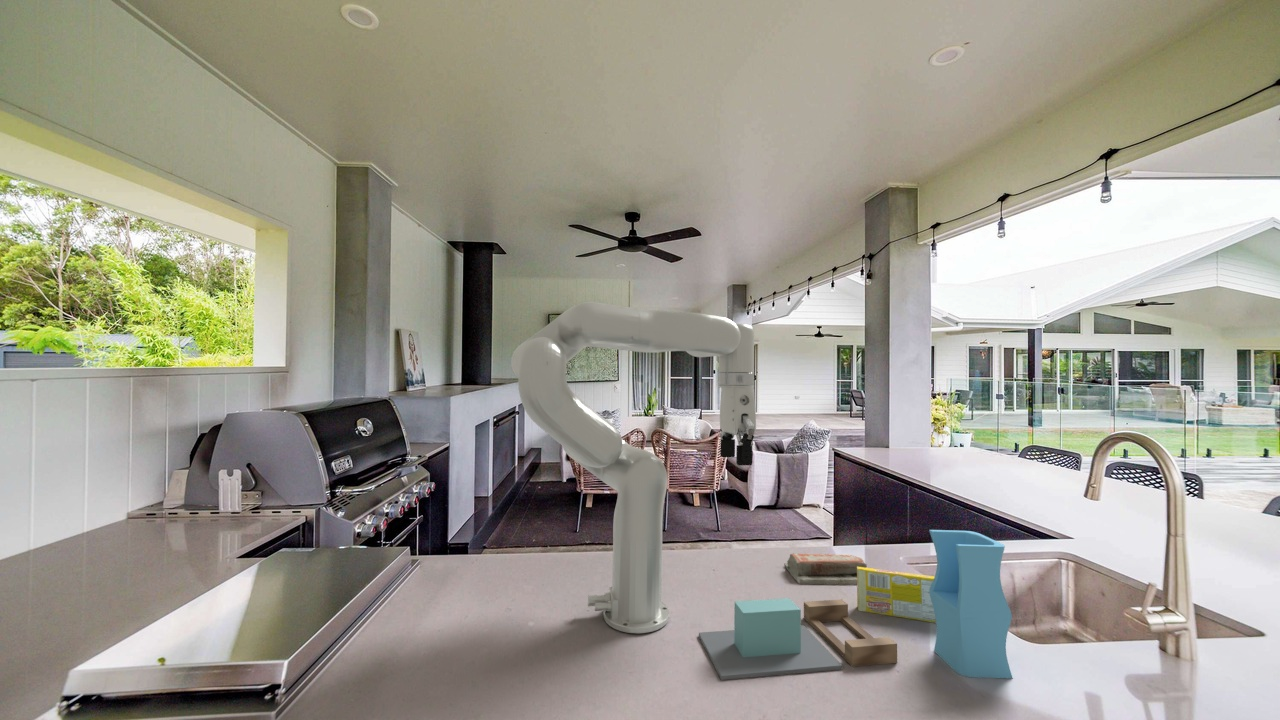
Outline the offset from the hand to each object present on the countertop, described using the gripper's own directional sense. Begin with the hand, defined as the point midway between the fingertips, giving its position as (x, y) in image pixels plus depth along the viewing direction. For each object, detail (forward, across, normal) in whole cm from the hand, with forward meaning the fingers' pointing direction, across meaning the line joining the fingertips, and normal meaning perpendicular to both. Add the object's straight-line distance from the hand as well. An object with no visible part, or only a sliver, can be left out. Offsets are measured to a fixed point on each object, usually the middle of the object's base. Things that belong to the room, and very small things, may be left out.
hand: (735, 460), depth 98 cm
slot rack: (+28, -18, -14) cm, 36 cm away
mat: (+28, -20, +2) cm, 35 cm away
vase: (+28, -27, -30) cm, 49 cm away
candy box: (+29, -12, -30) cm, 43 cm away
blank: (+28, -20, +2) cm, 34 cm away
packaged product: (+29, +7, -26) cm, 40 cm away
